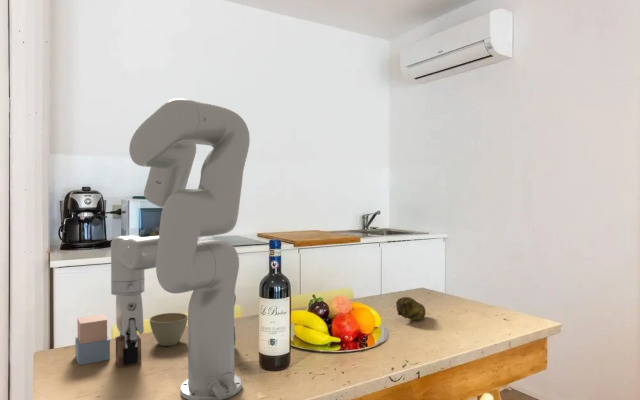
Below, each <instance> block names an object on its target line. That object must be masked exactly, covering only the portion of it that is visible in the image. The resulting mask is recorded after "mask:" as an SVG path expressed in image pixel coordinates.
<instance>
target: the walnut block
mask: <svg viewBox="0 0 640 400" xmlns="http://www.w3.org/2000/svg"><path fill="white" fill-rule="evenodd" d="M128 339H130V337H128V338H127V342H128ZM137 346H138V362H137V363H134V364H129V365H124V364H123V348H125V347H124V336H120V335H119V336H115V362H116V364H117V366H118V368H123V367H124V368H125V367H129V366H135V365H139V364H142V338H141V337H140V335H139V333H137Z"/></svg>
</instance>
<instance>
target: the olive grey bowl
mask: <svg viewBox="0 0 640 400" xmlns="http://www.w3.org/2000/svg"><path fill="white" fill-rule="evenodd" d="M187 324H188V314H185V313H181V312H166V313H161V314H160V313H159V314H155V315H152V316H150V317H149V325H150V329H151V332H152V334H153V336H154V339H155V340H156V342H157V344H158V345H159V346H162V347H168V346H169V347H171V346H174V345H177V344H178V343H179V342H180V340H181V339H182V336H183V335H184V332H185V329H186V327H187Z"/></svg>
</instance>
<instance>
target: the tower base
mask: <svg viewBox="0 0 640 400" xmlns="http://www.w3.org/2000/svg"><path fill="white" fill-rule="evenodd" d="M74 343H75V345H74V346H75V349H74V350H75V359H76V362H77V365H78V366H81V365H88V364H92V363H93V364H94V363H98V362H103V361H108V360H111V345H110V344H111V340H110V338H109V336H108V335H107V340H103V341H97V342H91V343H85V344H80V343H79V340H78V336H75V342H74Z"/></svg>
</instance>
